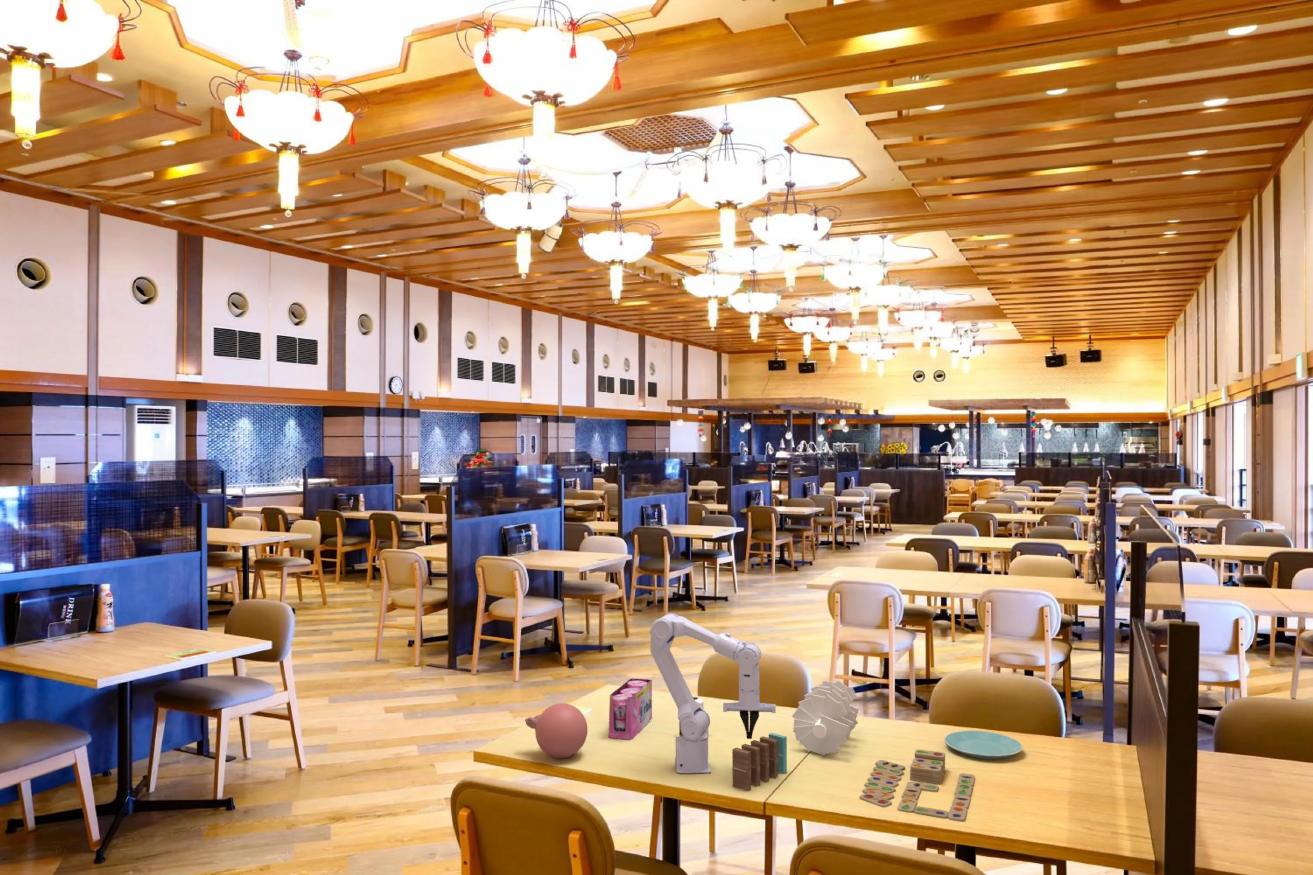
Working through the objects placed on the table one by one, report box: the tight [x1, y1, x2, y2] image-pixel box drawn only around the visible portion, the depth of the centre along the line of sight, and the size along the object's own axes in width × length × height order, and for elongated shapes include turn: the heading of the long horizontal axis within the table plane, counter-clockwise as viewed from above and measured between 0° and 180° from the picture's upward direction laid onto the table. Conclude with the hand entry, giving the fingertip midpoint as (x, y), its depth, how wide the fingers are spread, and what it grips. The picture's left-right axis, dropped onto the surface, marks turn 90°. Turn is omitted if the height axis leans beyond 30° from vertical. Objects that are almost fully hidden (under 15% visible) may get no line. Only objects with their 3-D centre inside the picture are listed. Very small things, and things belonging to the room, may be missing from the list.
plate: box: [943, 730, 1023, 760], centre depth 260 cm, size 22×22×3 cm
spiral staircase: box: [791, 679, 859, 757], centre depth 265 cm, size 18×18×25 cm
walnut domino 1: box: [731, 747, 752, 792], centre depth 231 cm, size 2×5×10 cm, turn 48°
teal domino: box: [768, 732, 788, 775], centre depth 243 cm, size 2×5×10 cm, turn 48°
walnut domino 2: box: [741, 743, 761, 787], centre depth 234 cm, size 2×5×10 cm, turn 47°
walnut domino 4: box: [759, 736, 779, 779], centre depth 240 cm, size 2×5×10 cm, turn 48°
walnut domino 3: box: [750, 739, 770, 783], centre depth 237 cm, size 2×5×10 cm, turn 47°
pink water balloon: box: [524, 702, 588, 759], centre depth 256 cm, size 15×20×15 cm
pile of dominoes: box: [858, 749, 976, 823], centre depth 230 cm, size 35×27×6 cm
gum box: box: [608, 677, 653, 741], centre depth 281 cm, size 24×8×14 cm, turn 164°
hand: (749, 737), depth 240 cm, fingers closed
